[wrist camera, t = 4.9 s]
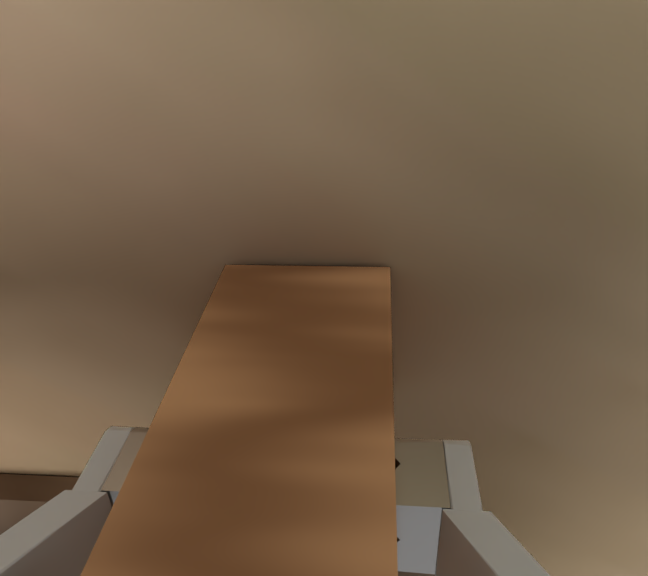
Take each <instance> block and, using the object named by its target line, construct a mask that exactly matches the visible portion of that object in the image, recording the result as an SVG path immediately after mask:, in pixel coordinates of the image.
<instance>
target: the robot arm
mask: <svg viewBox="0 0 648 576" xmlns="http://www.w3.org/2000/svg"><path fill="white" fill-rule="evenodd" d="M148 429H149V428H144V427H121V426H111V427H110V428H108V429H107V430H106V431H105V432H104V434H103V436H102V437H101V439H100V441H99V443H98V445H97V446H96V448H95V450H94V452H93V454H92V455H91V457H90V459H89V461H88V462H87V464H86V466H85V468H84V470H83V471H82V473H81V475H80V477H79V479H78V480H77V482H76V484H75V486H74V488H73V489H72V490H64V491H63V492H61V493H60V494H58V495H57V496H55V497H54V498H53V499H51V500H50V501H48V502H47V503H45V504H44V505H42V506H41V507H40V508H38V509H37V510H35V511H34V512H32V513H31V514H30V515H28V516H27V517H25V518H24V519H22V520H21V521H19V522H18V523H17V524H15V525H14V526H12V527H11V528H9V529H8V530H7V531H5V532H4V533H2V534H1V535H0V576H80V575H81V573H82V571H83V569H84V567H85V564H86V562H87V560H88V558H89V556H90V554H91V552H92V549H93V547H94V545H95V543H96V541H97V539H98V537H99V534H100V532H101V530H102V528H103V526H104V524H105V522H106V519H107V517H108V515H109V513H110V511H111V509H112V507H113V504H114V502H115V500H116V498H117V496H118V494H119V492H120V489H121V487H122V485H123V483H124V481H125V479H126V477H127V474H128V472H129V470H130V468H131V466H132V464H133V462H134V459H135V457H136V455H137V453H138V451H139V449H140V447H141V444H142V442H143V440H144V438H145V436H146V434H147V432H148ZM394 441H395V482H396V523H397V563H398V571H402V572H413V573H425V574H436V575H435V576H550V575H549V574H548V573H547V572H546V570H545V569H544V568H543V567H542V566H541V565H540V564H539V563H538V562H537V561H536V560H535V559H534V558H533V556H532V555H531V554H530V553H529V552H528V551H527V550H526V549H525V548H524V547H523V546H522V545H521V543H520V542H519V541H518V540H517V539H516V538H515V537H514V536H513V535H512V534H511V533H510V532H509V531H508V529H507V528H506V527H505V526H504V525H503V524H502V523H501V522H500V521H499V520H498V519H497V518H496V516H495V515H494V514H493V513H492V512H490V511H483V509H482V503H481V498H480V492H479V486H478V480H477V475H476V469H475V463H474V458H473V452H472V446H471V443H470V442H469V440H440V439H407V438H394Z"/></svg>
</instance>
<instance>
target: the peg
mask: <svg viewBox="0 0 648 576" xmlns="http://www.w3.org/2000/svg"><path fill="white" fill-rule="evenodd" d="M80 576H398V563H397V523H396V482H395V441H394V401H393V360H392V319H391V279H390V267H344V266H274V265H225V267H224V269H223V271H222V273H221V275H220V277H219V280H218V282H217V284H216V286H215V288H214V290H213V292H212V295H211V297H210V299H209V301H208V303H207V305H206V307H205V310H204V312H203V314H202V316H201V318H200V320H199V322H198V325H197V327H196V329H195V331H194V333H193V335H192V337H191V340H190V342H189V344H188V346H187V348H186V350H185V352H184V355H183V357H182V359H181V361H180V363H179V365H178V367H177V370H176V372H175V374H174V376H173V378H172V380H171V382H170V385H169V387H168V389H167V391H166V393H165V395H164V397H163V400H162V402H161V404H160V406H159V408H158V410H157V412H156V415H155V417H154V419H153V421H152V423H151V425H150V427H149V429H148V432H147V434H146V436H145V438H144V440H143V442H142V444H141V447H140V449H139V451H138V453H137V455H136V457H135V459H134V462H133V464H132V466H131V468H130V470H129V472H128V474H127V477H126V479H125V481H124V483H123V485H122V487H121V489H120V492H119V494H118V496H117V498H116V500H115V502H114V504H113V507H112V509H111V511H110V513H109V515H108V517H107V519H106V522H105V524H104V526H103V528H102V530H101V532H100V534H99V537H98V539H97V541H96V543H95V545H94V547H93V549H92V552H91V554H90V556H89V558H88V560H87V562H86V564H85V567H84V569H83V571H82V573H81V575H80Z"/></svg>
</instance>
